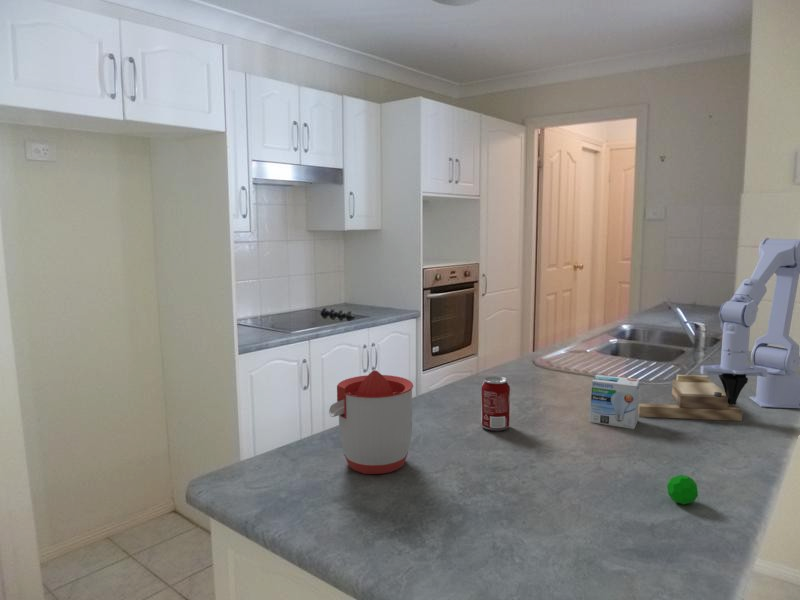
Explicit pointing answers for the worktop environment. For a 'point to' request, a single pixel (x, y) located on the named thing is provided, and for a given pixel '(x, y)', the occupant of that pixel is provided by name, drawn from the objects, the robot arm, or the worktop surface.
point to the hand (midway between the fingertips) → (731, 403)
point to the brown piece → (688, 411)
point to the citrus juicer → (374, 421)
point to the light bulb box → (614, 401)
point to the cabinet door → (703, 401)
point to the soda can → (495, 403)
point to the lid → (696, 385)
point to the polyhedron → (682, 489)
